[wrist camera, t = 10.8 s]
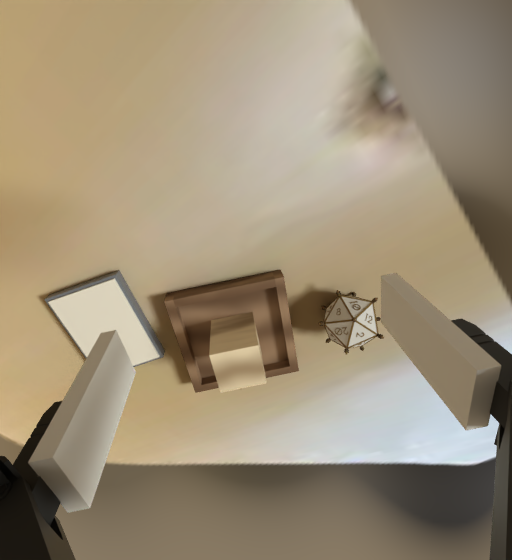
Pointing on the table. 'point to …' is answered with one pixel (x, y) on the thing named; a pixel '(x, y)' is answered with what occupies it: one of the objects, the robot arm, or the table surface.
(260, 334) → the walnut tray
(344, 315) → the game die
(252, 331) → the beech block
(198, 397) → the table surface
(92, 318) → the white grey flat slab
